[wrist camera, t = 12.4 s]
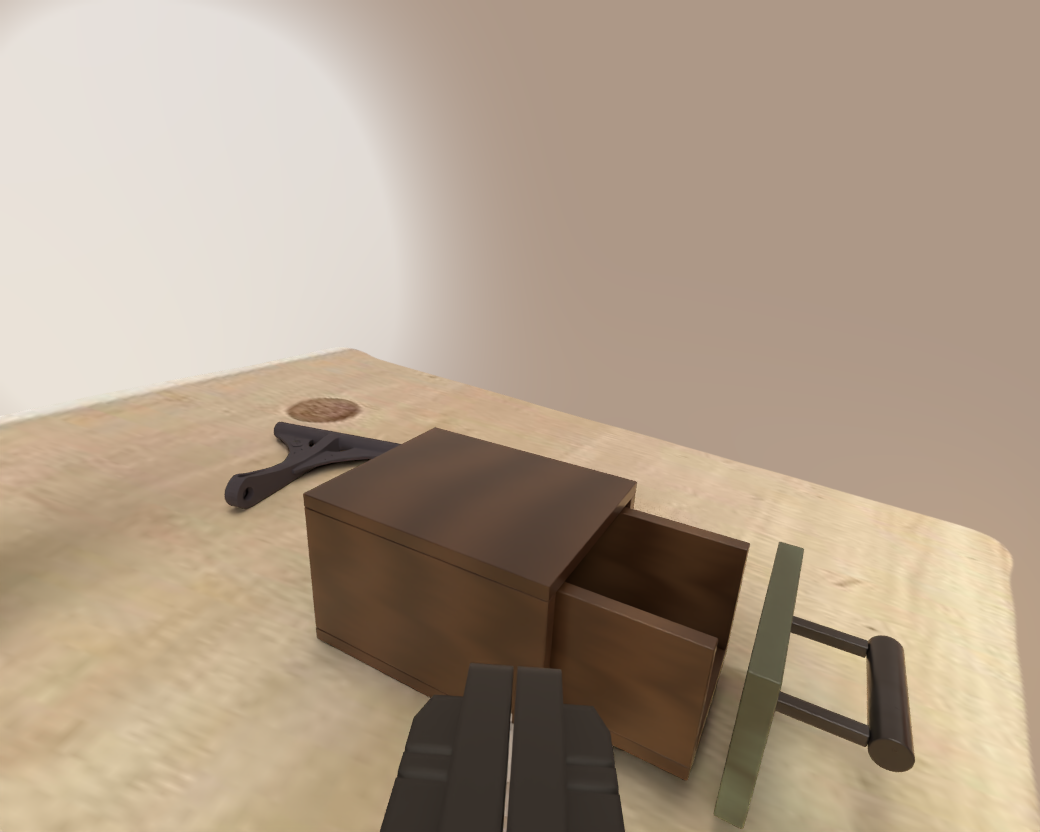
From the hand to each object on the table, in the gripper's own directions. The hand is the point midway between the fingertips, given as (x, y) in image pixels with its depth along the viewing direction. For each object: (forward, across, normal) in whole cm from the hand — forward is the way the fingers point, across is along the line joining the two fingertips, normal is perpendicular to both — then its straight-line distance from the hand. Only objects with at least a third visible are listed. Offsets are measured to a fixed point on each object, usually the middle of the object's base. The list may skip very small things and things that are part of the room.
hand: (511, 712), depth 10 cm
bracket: (+42, +22, +12) cm, 48 cm away
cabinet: (+24, +3, +14) cm, 27 cm away
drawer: (+18, -8, +14) cm, 24 cm away
